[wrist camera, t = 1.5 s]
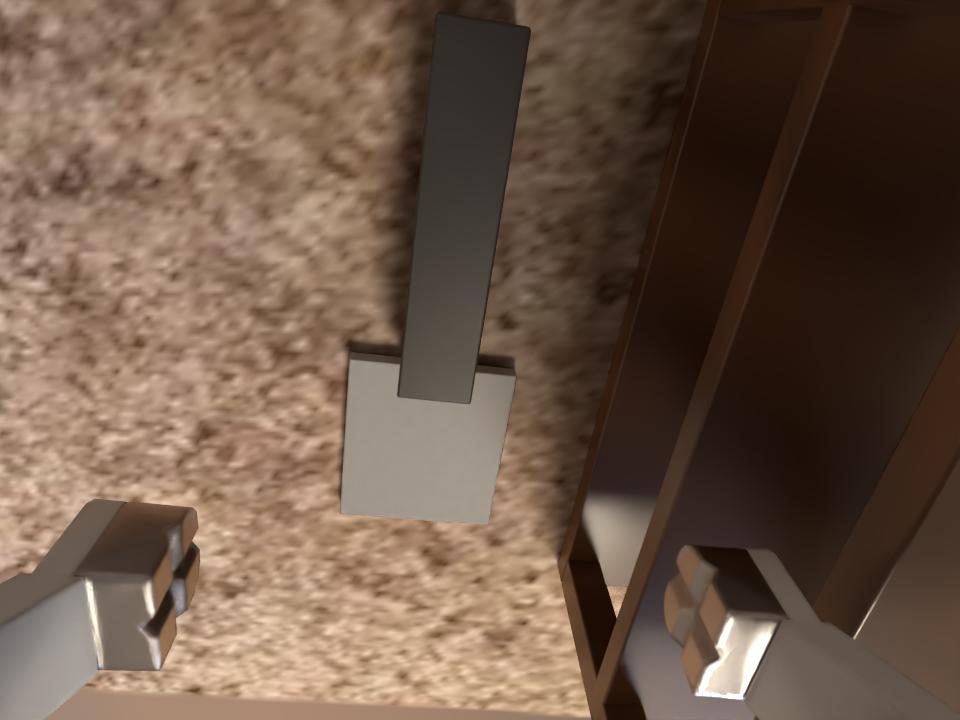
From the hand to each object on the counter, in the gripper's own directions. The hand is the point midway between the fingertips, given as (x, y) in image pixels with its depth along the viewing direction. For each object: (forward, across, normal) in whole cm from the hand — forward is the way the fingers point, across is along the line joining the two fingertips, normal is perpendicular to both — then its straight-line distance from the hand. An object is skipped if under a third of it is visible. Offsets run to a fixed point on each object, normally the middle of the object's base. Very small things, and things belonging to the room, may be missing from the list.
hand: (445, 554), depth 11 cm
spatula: (+13, 0, 0) cm, 13 cm away
